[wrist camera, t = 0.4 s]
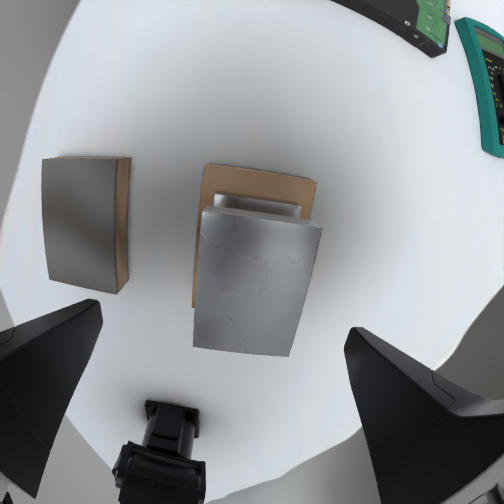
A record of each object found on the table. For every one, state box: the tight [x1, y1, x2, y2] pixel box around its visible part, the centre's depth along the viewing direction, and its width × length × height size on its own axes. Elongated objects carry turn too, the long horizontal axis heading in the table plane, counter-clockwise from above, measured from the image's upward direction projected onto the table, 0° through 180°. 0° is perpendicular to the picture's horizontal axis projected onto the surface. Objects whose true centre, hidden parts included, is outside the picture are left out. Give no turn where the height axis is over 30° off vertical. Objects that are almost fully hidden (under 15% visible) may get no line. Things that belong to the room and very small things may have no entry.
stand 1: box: [41, 157, 131, 295], centre depth 18 cm, size 10×7×2 cm
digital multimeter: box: [455, 17, 504, 158], centre depth 14 cm, size 7×15×3 cm, turn 9°
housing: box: [193, 191, 322, 357], centre depth 15 cm, size 7×5×6 cm
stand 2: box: [192, 164, 317, 308], centre depth 19 cm, size 10×7×2 cm
